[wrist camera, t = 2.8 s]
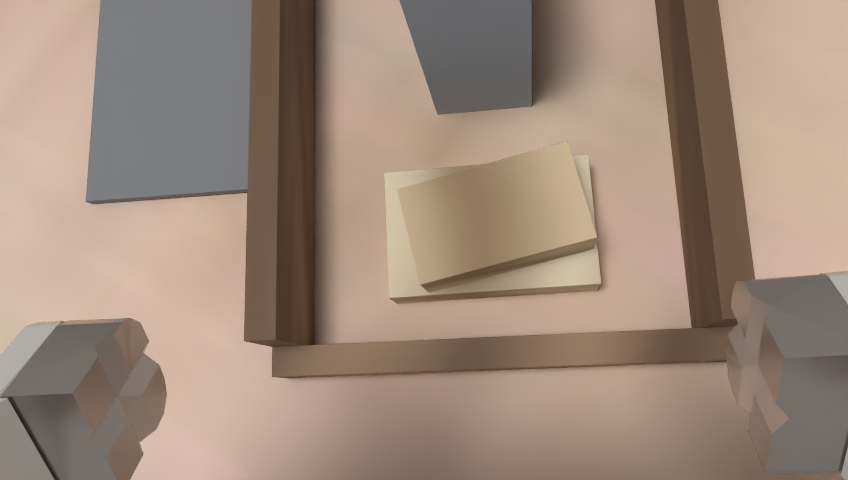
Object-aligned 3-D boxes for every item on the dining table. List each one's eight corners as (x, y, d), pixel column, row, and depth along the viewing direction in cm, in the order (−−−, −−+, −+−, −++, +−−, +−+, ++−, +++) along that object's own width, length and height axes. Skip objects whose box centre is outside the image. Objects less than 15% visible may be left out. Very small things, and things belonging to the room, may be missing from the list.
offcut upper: (565, 159, 25) (567, 141, 23) (593, 248, 24) (597, 237, 22) (406, 203, 25) (396, 189, 23) (428, 292, 24) (420, 284, 23)
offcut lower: (584, 172, 26) (588, 154, 25) (595, 292, 25) (601, 283, 24) (395, 189, 27) (384, 173, 25) (399, 305, 26) (388, 297, 24)
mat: (268, -87, 30) (264, -93, 30) (262, 191, 28) (259, 188, 27) (111, -67, 31) (106, -73, 31) (91, 204, 28) (85, 201, 28)
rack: (661, -182, 28) (681, -274, 25) (727, 361, 24) (764, 353, 20) (291, -132, 30) (256, -209, 27) (286, 377, 26) (243, 374, 22)
